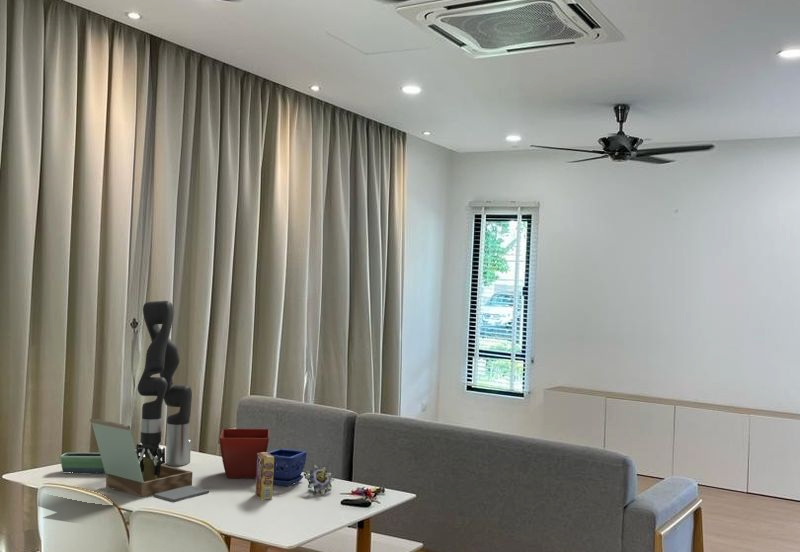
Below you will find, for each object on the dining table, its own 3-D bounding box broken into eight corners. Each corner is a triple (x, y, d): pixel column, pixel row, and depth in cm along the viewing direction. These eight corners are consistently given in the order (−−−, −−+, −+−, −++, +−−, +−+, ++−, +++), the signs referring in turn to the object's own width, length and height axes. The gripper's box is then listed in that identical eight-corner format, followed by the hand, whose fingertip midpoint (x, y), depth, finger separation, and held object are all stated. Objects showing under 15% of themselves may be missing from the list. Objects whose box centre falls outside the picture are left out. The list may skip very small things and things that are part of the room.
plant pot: (267, 480, 301) (268, 437, 301) (218, 481, 298) (219, 437, 298) (268, 469, 320) (269, 428, 320) (221, 469, 317) (222, 428, 317)
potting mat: (189, 487, 287) (189, 485, 287) (209, 492, 281) (209, 490, 281) (153, 496, 274) (154, 494, 274) (174, 501, 268) (174, 499, 268)
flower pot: (260, 484, 294) (261, 453, 294) (278, 477, 307) (279, 447, 307) (290, 489, 289) (291, 457, 289) (307, 481, 302) (308, 451, 302)
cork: (143, 483, 291) (144, 454, 291) (159, 483, 291) (160, 454, 291) (139, 488, 285) (140, 458, 285) (155, 488, 285) (156, 458, 285)
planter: (134, 470, 311) (135, 453, 312) (129, 475, 304) (130, 456, 304) (65, 470, 309) (65, 452, 309) (58, 474, 302) (59, 456, 302)
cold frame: (154, 475, 303) (155, 463, 303) (192, 485, 291) (192, 471, 291) (106, 486, 285) (106, 473, 285) (143, 497, 273) (143, 483, 273)
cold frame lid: (92, 418, 280) (89, 419, 279) (129, 425, 268) (127, 426, 267) (106, 472, 285) (104, 473, 284) (143, 481, 273) (141, 483, 272)
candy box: (273, 499, 275) (274, 456, 275) (261, 500, 273) (263, 457, 273) (266, 493, 283) (267, 451, 283) (255, 494, 281) (256, 452, 281)
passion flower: (321, 508, 283) (311, 486, 277) (303, 497, 291) (292, 475, 285) (342, 487, 290) (333, 465, 283) (323, 477, 297) (314, 455, 291)
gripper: (171, 431, 287) (170, 474, 287) (147, 426, 296) (146, 468, 295) (155, 434, 281) (153, 478, 281) (130, 429, 289) (129, 472, 289)
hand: (149, 473), depth 288 cm, fingers open, 8 cm apart
